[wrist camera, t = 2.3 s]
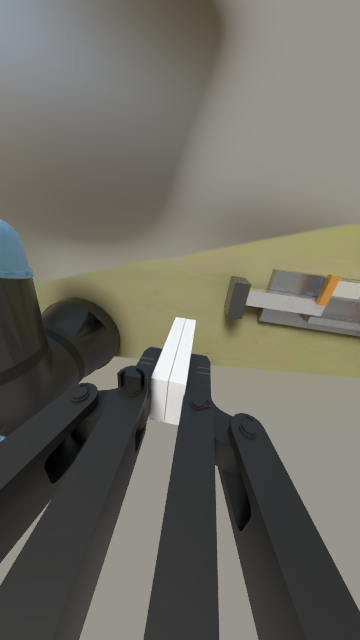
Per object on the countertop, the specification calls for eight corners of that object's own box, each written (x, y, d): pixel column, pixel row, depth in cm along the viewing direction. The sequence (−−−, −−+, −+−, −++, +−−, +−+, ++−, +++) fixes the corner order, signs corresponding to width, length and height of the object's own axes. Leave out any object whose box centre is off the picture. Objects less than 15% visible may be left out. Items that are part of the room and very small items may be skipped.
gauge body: (257, 317, 29) (265, 330, 25) (273, 269, 26) (285, 274, 22) (387, 337, 28) (417, 354, 24) (422, 288, 24) (465, 298, 20)
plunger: (224, 306, 28) (226, 316, 24) (234, 261, 25) (239, 265, 21) (309, 319, 27) (326, 332, 23) (331, 273, 24) (354, 280, 20)
